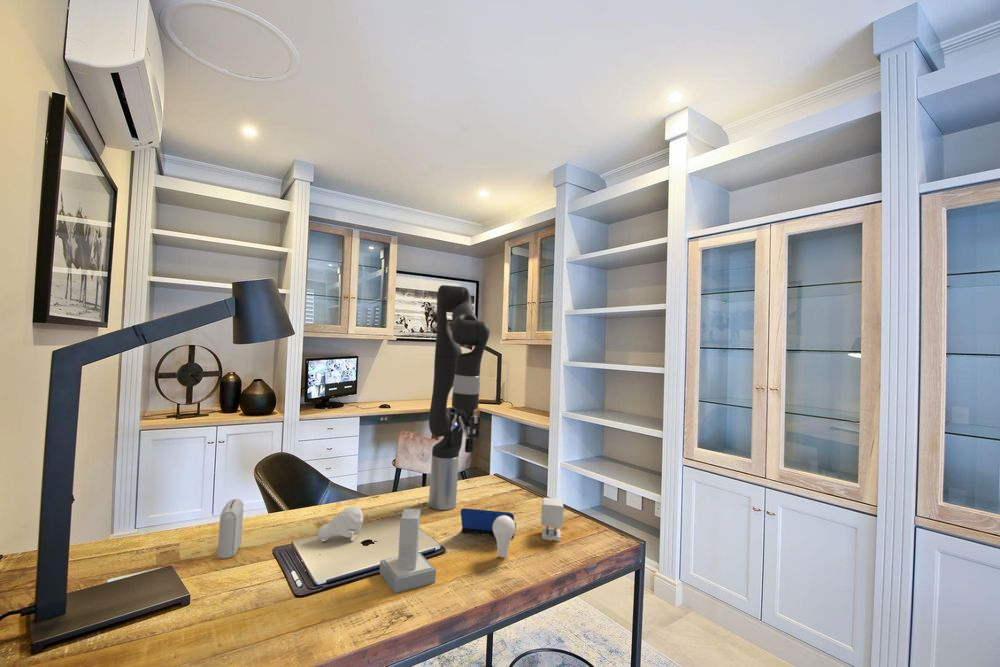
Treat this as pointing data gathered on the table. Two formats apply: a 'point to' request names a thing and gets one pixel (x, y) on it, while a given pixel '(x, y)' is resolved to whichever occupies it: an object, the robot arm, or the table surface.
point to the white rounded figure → (343, 524)
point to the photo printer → (230, 528)
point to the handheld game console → (481, 521)
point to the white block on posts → (552, 518)
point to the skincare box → (409, 539)
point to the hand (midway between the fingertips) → (461, 448)
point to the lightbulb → (503, 533)
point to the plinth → (407, 574)
